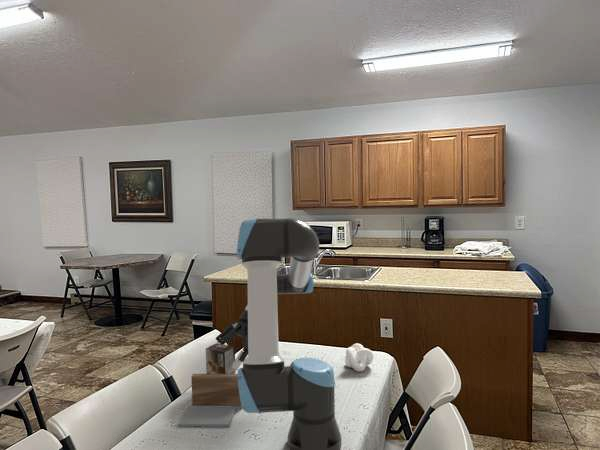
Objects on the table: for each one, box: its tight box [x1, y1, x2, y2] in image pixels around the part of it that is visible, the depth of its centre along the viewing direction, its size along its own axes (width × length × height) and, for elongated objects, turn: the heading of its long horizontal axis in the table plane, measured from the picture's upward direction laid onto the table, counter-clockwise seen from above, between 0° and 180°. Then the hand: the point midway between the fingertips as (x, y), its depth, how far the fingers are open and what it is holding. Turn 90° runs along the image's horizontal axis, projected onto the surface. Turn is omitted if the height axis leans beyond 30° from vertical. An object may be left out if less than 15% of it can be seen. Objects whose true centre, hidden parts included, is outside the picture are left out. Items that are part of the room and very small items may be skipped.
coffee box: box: [205, 343, 237, 374], centre depth 151 cm, size 9×6×16 cm
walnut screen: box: [191, 373, 242, 406], centre depth 141 cm, size 2×19×10 cm, turn 88°
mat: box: [177, 405, 237, 428], centre depth 132 cm, size 11×16×1 cm
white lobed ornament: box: [344, 342, 375, 373], centre depth 169 cm, size 11×12×9 cm
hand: (222, 364), depth 152 cm, fingers open, 13 cm apart
